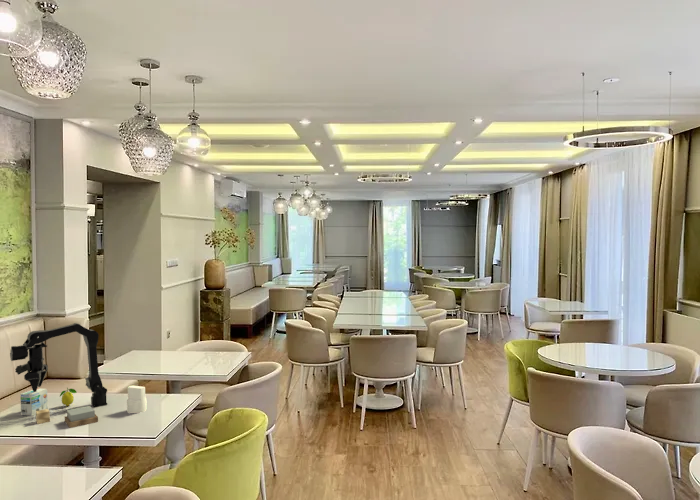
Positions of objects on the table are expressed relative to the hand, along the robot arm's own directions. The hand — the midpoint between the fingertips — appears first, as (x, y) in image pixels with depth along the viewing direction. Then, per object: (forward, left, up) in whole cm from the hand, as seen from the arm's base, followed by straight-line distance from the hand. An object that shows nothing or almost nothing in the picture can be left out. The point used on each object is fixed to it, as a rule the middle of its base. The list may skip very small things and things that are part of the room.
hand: (37, 389), depth 252 cm
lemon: (-15, -11, -14) cm, 24 cm away
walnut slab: (-15, +20, -15) cm, 29 cm away
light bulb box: (0, -12, -14) cm, 19 cm away
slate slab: (-15, +20, -12) cm, 28 cm away
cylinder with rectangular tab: (-40, +22, -14) cm, 48 cm away
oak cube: (-1, +7, -14) cm, 16 cm away
